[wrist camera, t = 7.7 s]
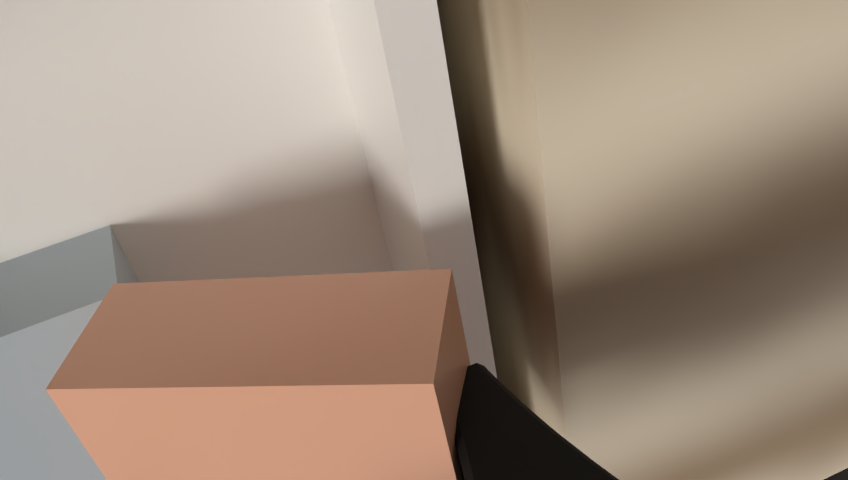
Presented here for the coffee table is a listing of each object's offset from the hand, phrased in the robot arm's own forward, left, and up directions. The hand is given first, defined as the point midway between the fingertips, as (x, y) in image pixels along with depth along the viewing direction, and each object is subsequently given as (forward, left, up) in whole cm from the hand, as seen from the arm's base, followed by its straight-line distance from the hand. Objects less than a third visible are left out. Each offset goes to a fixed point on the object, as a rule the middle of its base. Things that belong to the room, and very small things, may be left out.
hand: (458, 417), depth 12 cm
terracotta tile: (0, +2, -1) cm, 2 cm away
